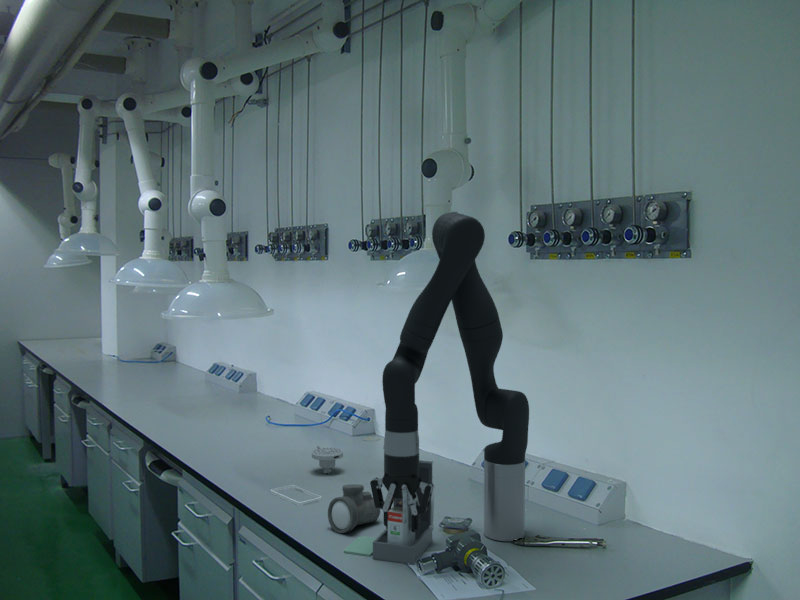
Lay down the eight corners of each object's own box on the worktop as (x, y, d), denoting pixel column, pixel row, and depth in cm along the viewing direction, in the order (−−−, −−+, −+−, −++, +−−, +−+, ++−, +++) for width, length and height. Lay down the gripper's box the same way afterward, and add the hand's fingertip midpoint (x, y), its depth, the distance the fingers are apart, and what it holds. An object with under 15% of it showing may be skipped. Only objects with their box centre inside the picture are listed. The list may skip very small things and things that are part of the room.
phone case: (269, 494, 186) (299, 508, 175) (269, 489, 186) (299, 502, 175) (292, 489, 191) (323, 501, 180) (292, 484, 191) (322, 496, 180)
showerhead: (329, 443, 213) (349, 449, 205) (330, 466, 213) (349, 472, 205) (304, 448, 206) (323, 454, 199) (304, 471, 207) (323, 478, 199)
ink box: (386, 557, 142) (386, 488, 142) (400, 543, 150) (400, 478, 149) (402, 560, 141) (402, 490, 141) (416, 546, 148) (416, 480, 148)
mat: (359, 537, 153) (359, 535, 153) (384, 540, 151) (384, 539, 151) (343, 552, 145) (343, 550, 145) (370, 556, 143) (370, 554, 143)
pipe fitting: (349, 536, 153) (350, 489, 154) (325, 530, 158) (326, 485, 159) (386, 528, 162) (386, 484, 163) (362, 523, 167) (363, 480, 168)
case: (393, 535, 154) (393, 457, 154) (435, 541, 151) (435, 460, 151) (372, 558, 142) (372, 473, 141) (417, 565, 138) (417, 477, 138)
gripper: (438, 449, 146) (438, 527, 146) (376, 444, 151) (376, 519, 151) (428, 457, 139) (428, 539, 139) (363, 452, 143) (363, 531, 144)
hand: (401, 529), depth 145 cm, fingers open, 5 cm apart
